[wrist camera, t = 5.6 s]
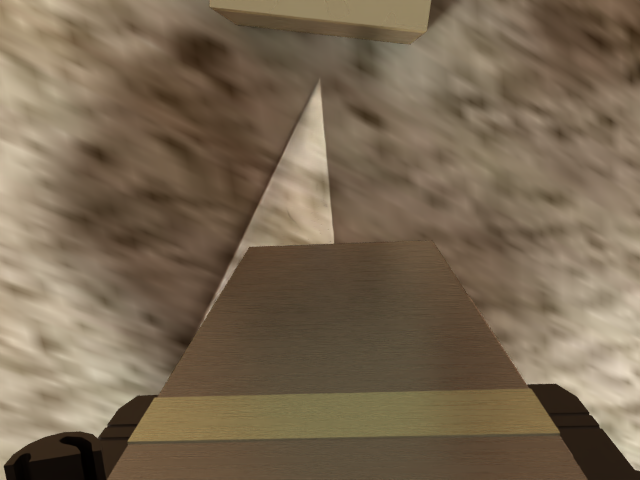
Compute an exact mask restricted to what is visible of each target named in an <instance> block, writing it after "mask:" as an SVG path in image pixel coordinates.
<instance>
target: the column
mask: <svg viewBox="0 0 640 480" xmlns="http://www.w3.org/2000/svg"><path fill="white" fill-rule="evenodd" d="M127 443H128V446H127V448H126V449H125V451H124V452H123V454H122V456H121V457H120V459H119V461H118V462H117V464H116V465H115V467H114V469H113V470H112V472H111V474H110V475H109V477H108V479H107V480H588V479H587V478H586V476H585V475H584V473H583V472H582V470H581V468H580V467H579V465H578V464H577V462H576V461H575V459H574V458H573V456H572V455H571V453H570V452H569V450H568V448H567V447H566V445H565V444H564V442H563V441H562V439H561V438H560V432H559V430H558V429H557V427H556V426H555V424H554V423H553V421H552V420H551V418H550V417H549V415H548V413H547V412H546V410H545V409H544V407H543V406H542V404H541V403H540V401H539V400H538V398H537V397H536V395H535V394H534V392H533V391H532V389H529V388H528V387H527V385H526V384H525V382H524V381H523V379H522V378H521V376H520V375H519V373H518V372H517V370H516V368H515V367H514V365H513V364H512V362H511V361H510V359H509V358H508V356H507V355H506V353H505V351H504V350H503V348H502V347H501V345H500V344H499V342H498V341H497V339H496V338H495V336H494V335H493V333H492V331H491V330H490V328H489V327H488V325H487V324H486V322H485V321H484V319H483V318H482V316H481V315H480V313H479V311H478V310H477V308H476V307H475V305H474V304H473V302H472V301H471V299H470V298H469V296H468V295H467V293H466V291H465V290H464V288H463V287H462V285H461V284H460V282H459V281H458V279H457V278H456V276H455V275H454V273H453V271H452V270H451V268H450V267H449V265H448V264H447V262H446V261H445V259H444V258H443V256H442V255H441V253H440V251H439V250H438V248H437V247H436V245H435V244H434V242H433V241H432V240H425V241H397V242H370V243H342V244H314V245H287V246H259V247H249V248H248V250H247V252H246V253H245V255H244V257H243V258H242V260H241V261H240V263H239V265H238V266H237V268H236V270H235V271H234V273H233V274H232V276H231V278H230V279H229V281H228V283H227V284H226V286H225V288H224V289H223V291H222V292H221V294H220V296H219V297H218V299H217V301H216V302H215V304H214V305H213V307H212V309H211V310H210V312H209V314H208V315H207V317H206V319H205V320H204V322H203V323H202V325H201V327H200V328H199V330H198V332H197V333H196V335H195V337H194V338H193V340H192V341H191V343H190V345H189V346H188V348H187V350H186V351H185V353H184V354H183V356H182V358H181V359H180V361H179V363H178V364H177V366H176V368H175V369H174V371H173V372H172V374H171V376H170V377H169V379H168V381H167V382H166V384H165V385H164V387H163V389H162V390H161V392H160V394H159V395H158V397H157V398H154V399H153V401H152V403H151V404H150V406H149V408H148V409H147V411H146V412H145V414H144V416H143V417H142V419H141V420H140V422H139V424H138V425H137V427H136V428H135V430H134V432H133V433H132V435H131V437H130V438H129V440H128V441H127Z"/></svg>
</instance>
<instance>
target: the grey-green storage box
mask: <svg viewBox="0 0 640 480" xmlns="http://www.w3.org/2000/svg"><path fill="white" fill-rule="evenodd" d="M430 5H431V0H210V3H209V7H210V8H212V9H213V10H215V11H216V12H218V13H219V14H221V15H222V16H224V17H225V18H227V19H228V20H230V21H231V22H233V23H234V24H236V25H241V26H250V27H259V28H268V29H277V30H286V31H295V32H303V33H312V34H321V35H330V36H339V37H348V38H357V39H366V40H374V41H383V42H392V43H401V44H411V43H412V42H414V41H415V40H416V39H418V38H419V37H420V36H421V35H423V34H424V33H425V32H426V31H427V25H428V19H429V12H430Z"/></svg>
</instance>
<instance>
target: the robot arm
mask: <svg viewBox="0 0 640 480" xmlns="http://www.w3.org/2000/svg"><path fill="white" fill-rule="evenodd" d="M469 298H470V297H469ZM470 299H471V298H470ZM471 301H472V300H471ZM472 302H473V301H472ZM473 304H474V303H473ZM474 305H475V304H474ZM475 307H476V306H475ZM476 308H477V307H476ZM477 310H478V309H477ZM479 313H480V312H479ZM480 315H481V314H480ZM481 316H482V315H481ZM482 318H483V317H482ZM483 319H484V318H483ZM484 321H485V320H484ZM485 322H486V321H485ZM486 324H487V323H486ZM487 325H488V324H487ZM488 327H489V326H488ZM489 328H490V327H489ZM490 330H491V329H490ZM492 333H493V332H492ZM493 335H494V334H493ZM494 336H495V335H494ZM495 338H496V337H495ZM496 339H497V338H496ZM497 341H498V340H497ZM498 342H499V341H498ZM499 344H500V343H499ZM500 345H501V344H500ZM501 347H502V346H501ZM503 350H504V349H503ZM505 353H506V352H505ZM506 355H507V354H506ZM507 356H508V355H507ZM508 358H509V357H508ZM509 359H510V358H509ZM510 361H511V360H510ZM511 362H512V361H511ZM512 364H513V363H512ZM514 367H515V366H514ZM516 370H517V369H516ZM517 372H518V371H517ZM518 373H519V372H518ZM519 375H520V374H519ZM520 376H521V375H520ZM521 378H522V377H521ZM522 379H523V378H522ZM523 381H524V380H523ZM524 382H525V381H524ZM525 384H526V383H525ZM527 387H528V388H529V389H532V391H533V392H534V394H535V395H536V397H537V398H538V400H539V401H540V403H541V404H542V406H543V407H544V409H545V410H546V412H547V413H548V415H549V417H550V418H551V420H552V421H553V423H554V424H555V426H556V427H557V429H558V430H559V432H560V438H561V439H562V441H563V442H564V444H565V445H566V447H567V448H568V450H569V452H570V453H571V455H572V456H573V458H574V459H575V461H576V462H577V464H578V465H579V467H580V468H581V470H582V472H583V473H584V475H585V476H586V478H587V479H588V480H640V471H637V470H634V469H633V467H632V466H631V465H630V463H629V462H628V461H627V460H626V458H625V457H624V456H623V455H622V453H621V452H620V451H619V450H618V448H617V447H616V446H615V444H614V443H613V442H612V441H611V439H610V438H609V437H608V436H607V434H606V433H605V432H604V431H603V429H600V427H599V424H598V423H597V422H596V420H595V419H594V418H593V417H592V415H589V412H588V410H587V409H586V408H585V407H584V405H583V404H582V403H581V401H580V400H579V399H578V398H577V397H576V396H575V395H573V394H571V393H570V392H568V391H567V390H565V389H563V388H562V387H560V386H559V385H557V384H528V385H527ZM157 397H158V395H144V396H137V397H135V398H134V399H132V400H131V401H129V402H128V403H127V404H125V405H124V406H122V407H121V408H120V409H118V411H117V412H116V413H115V415H114V416H113V418H112V419H111V420H110V422H109V423H108V426H107V428H105V429H104V430H103V432H102V433H101V434H100V436H99V437H98V438H96V437H95V436H94V435H93V434H89V433H84V432H63V433H59V434H55V435H51V436H47V437H44V438H42V439H40V440H37V441H35V442H33V443H30V444H28V445H27V446H25V447H24V448H22V449H21V450H19V451H18V452H16V453H15V454H13V455H12V457H11V458H10V459H9V460H8V461H7V463H6V464H5V465H4V470H5V474H6V479H7V480H107V479H108V477H109V475H110V474H111V472H112V470H113V469H114V467H115V465H116V464H117V462H118V461H119V459H120V457H121V456H122V454H123V452H124V451H125V449H126V448H127V446H128V443H127V441H128V440H129V438H130V437H131V435H132V433H133V432H134V430H135V428H136V427H137V425H138V424H139V422H140V420H141V419H142V417H143V416H144V414H145V412H146V411H147V409H148V408H149V406H150V404H151V403H152V401H153V399H154V398H157Z"/></svg>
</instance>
